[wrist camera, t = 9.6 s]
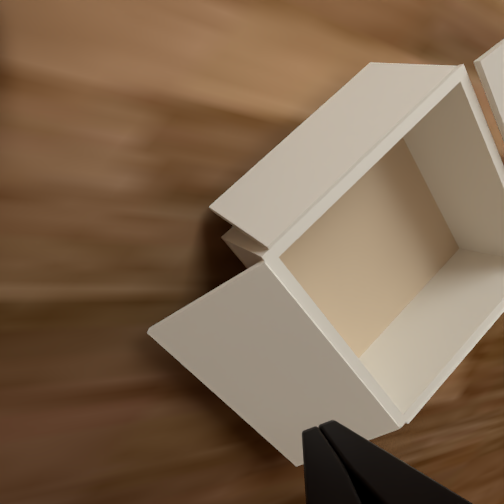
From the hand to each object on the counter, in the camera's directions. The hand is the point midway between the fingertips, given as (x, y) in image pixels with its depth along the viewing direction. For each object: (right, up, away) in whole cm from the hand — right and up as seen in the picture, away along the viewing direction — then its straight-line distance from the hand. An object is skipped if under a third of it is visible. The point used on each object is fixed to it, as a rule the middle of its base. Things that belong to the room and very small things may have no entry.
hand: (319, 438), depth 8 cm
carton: (+3, +3, +12) cm, 13 cm away
